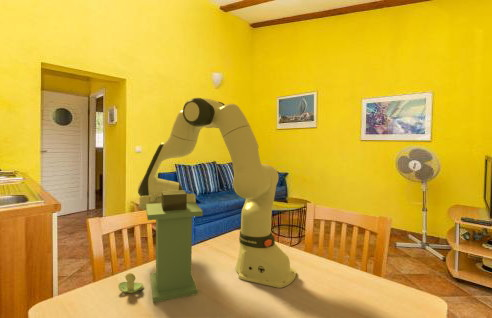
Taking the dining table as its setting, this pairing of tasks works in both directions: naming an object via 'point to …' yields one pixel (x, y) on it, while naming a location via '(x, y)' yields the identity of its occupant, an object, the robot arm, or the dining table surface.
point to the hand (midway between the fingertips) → (169, 195)
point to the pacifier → (130, 284)
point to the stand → (173, 251)
